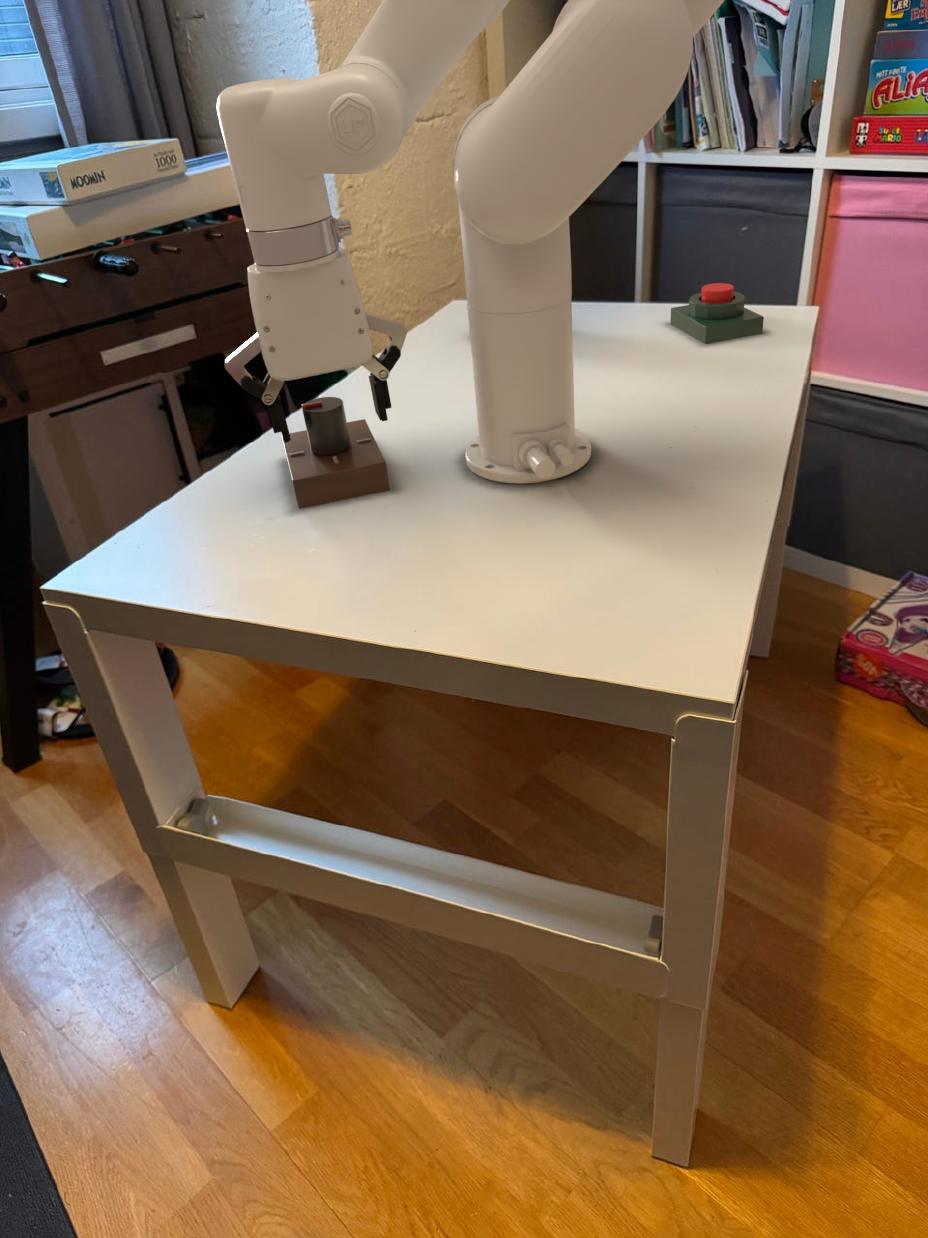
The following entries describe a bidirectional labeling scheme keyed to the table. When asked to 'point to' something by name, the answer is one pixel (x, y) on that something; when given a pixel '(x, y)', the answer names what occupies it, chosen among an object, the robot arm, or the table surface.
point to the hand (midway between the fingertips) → (334, 426)
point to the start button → (717, 293)
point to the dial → (326, 425)
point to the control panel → (336, 468)
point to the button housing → (716, 319)
